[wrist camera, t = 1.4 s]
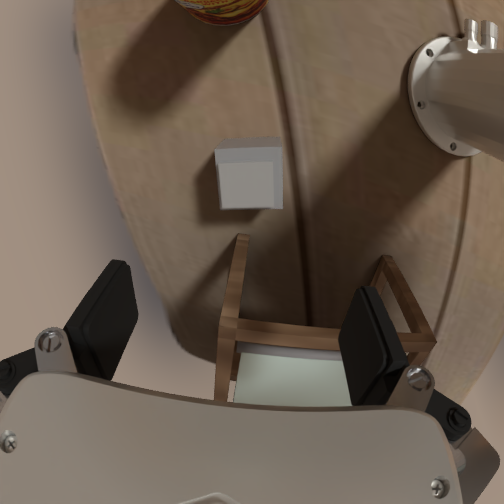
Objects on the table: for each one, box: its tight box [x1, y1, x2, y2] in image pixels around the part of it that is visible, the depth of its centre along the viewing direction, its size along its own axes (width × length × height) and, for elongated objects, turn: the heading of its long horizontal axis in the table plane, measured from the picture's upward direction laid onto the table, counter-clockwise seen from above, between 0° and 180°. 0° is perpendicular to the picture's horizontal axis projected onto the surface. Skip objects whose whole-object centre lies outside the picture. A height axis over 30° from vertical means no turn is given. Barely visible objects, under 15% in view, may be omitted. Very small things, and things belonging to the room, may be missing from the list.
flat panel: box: [233, 341, 407, 407], centre depth 24 cm, size 12×14×1 cm
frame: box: [214, 233, 437, 402], centre depth 29 cm, size 17×17×13 cm
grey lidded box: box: [214, 137, 283, 210], centre depth 24 cm, size 5×5×6 cm
